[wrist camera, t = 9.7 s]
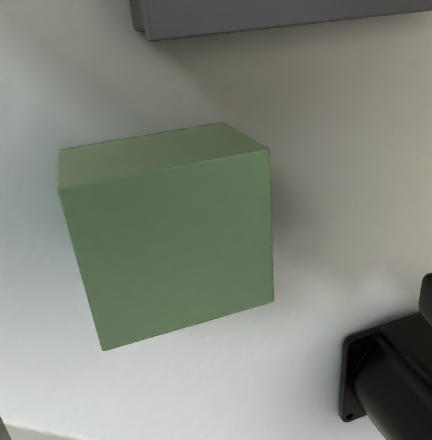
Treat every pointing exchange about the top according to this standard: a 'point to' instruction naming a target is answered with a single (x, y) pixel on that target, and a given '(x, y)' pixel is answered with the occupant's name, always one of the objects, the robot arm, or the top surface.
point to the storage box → (253, 14)
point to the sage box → (169, 229)
